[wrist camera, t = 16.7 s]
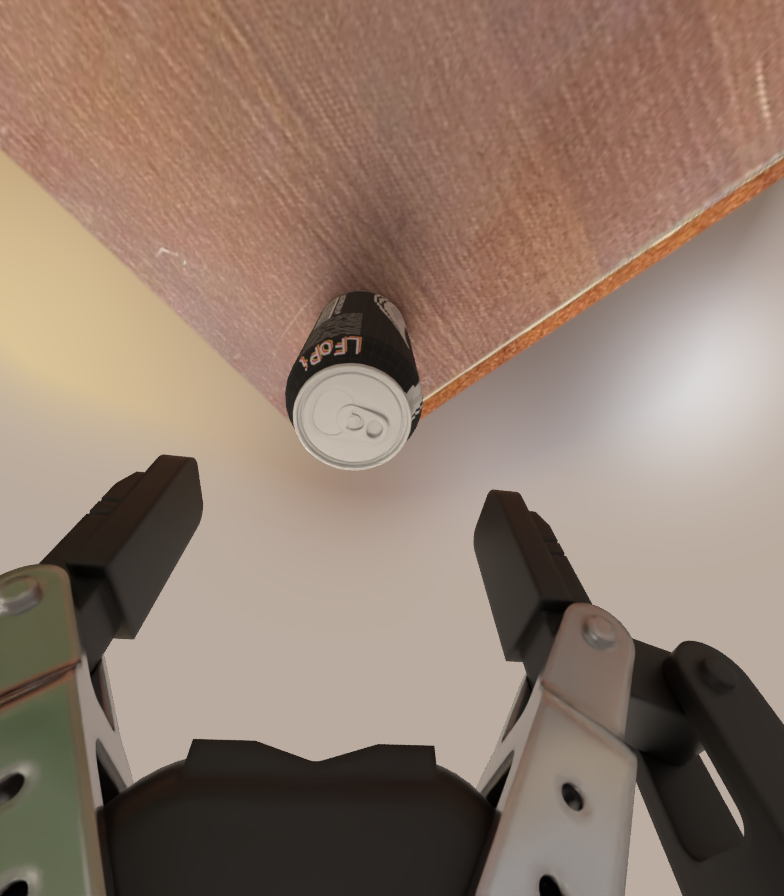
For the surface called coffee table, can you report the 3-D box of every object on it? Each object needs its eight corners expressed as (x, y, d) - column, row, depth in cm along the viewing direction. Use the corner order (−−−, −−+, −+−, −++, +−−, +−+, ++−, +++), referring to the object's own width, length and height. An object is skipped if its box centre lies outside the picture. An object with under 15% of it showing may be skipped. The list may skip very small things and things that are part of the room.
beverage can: (387, 388, 27) (393, 499, 16) (307, 359, 25) (260, 459, 15) (421, 309, 24) (454, 383, 14) (333, 272, 23) (298, 323, 12)
